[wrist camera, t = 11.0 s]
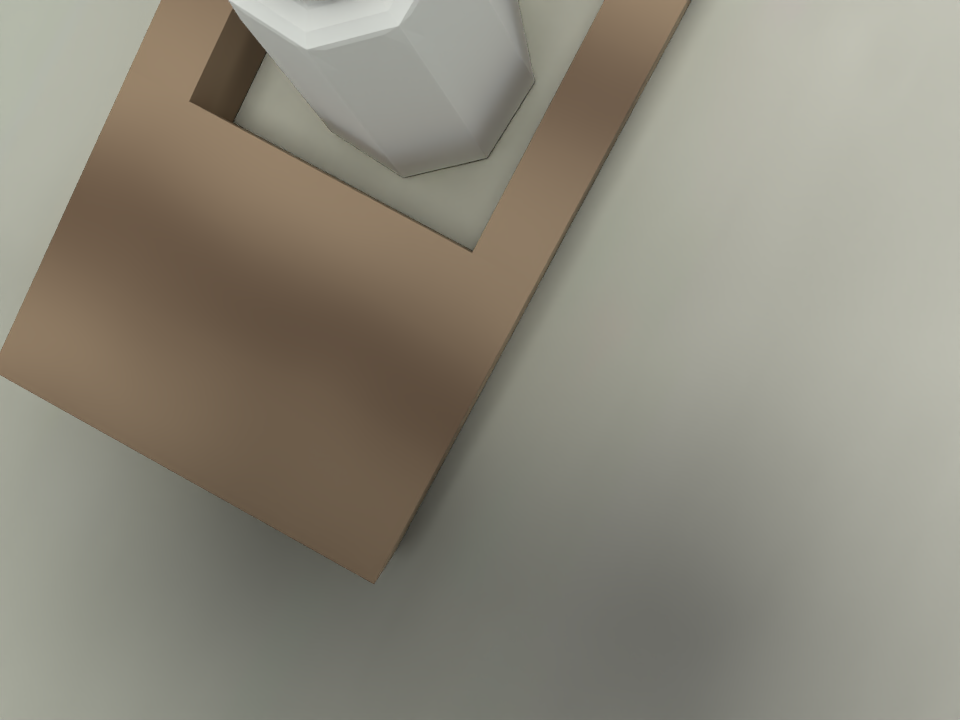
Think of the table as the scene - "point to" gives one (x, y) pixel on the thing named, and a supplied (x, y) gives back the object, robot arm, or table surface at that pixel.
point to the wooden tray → (296, 287)
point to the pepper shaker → (402, 72)
